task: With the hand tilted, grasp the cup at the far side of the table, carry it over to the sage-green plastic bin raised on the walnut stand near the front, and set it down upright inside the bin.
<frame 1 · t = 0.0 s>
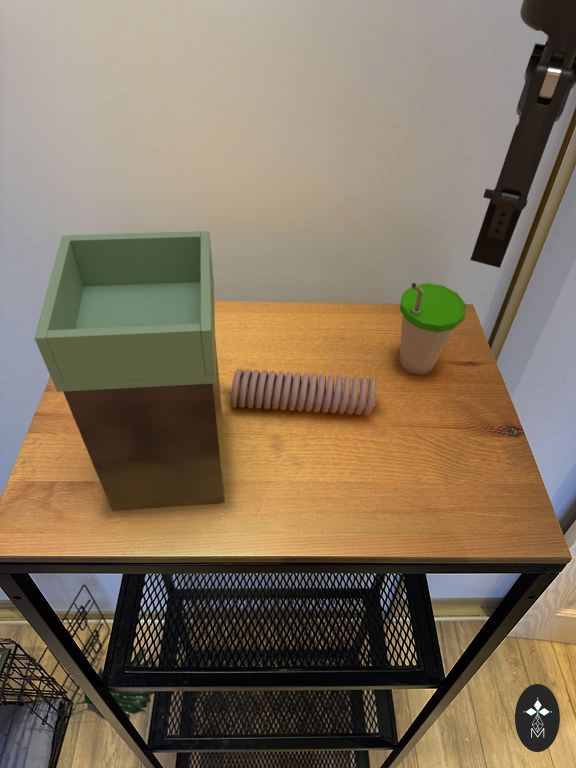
hand: (497, 223, 56), 24 cm above the shelf top, tool pointing down, fingers open, 13 cm apart
stand: (170, 459, 65), on the shelf top
coil: (302, 405, 71), on the shelf top
bin: (142, 333, 50), resting on stand
cup: (415, 363, 77), on the shelf top
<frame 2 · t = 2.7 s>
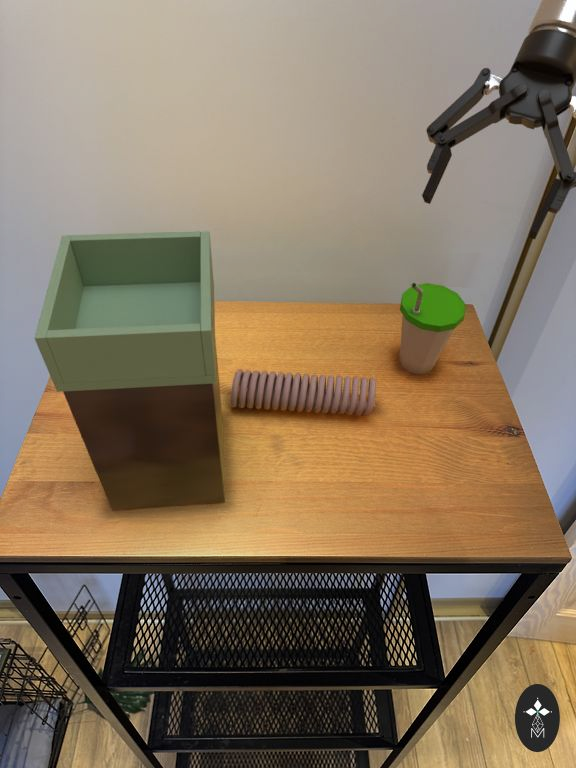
hand: (477, 217, 70), 17 cm above the shelf top, tool tilted 45°, fingers open, 13 cm apart
nothing on the shelf top moved.
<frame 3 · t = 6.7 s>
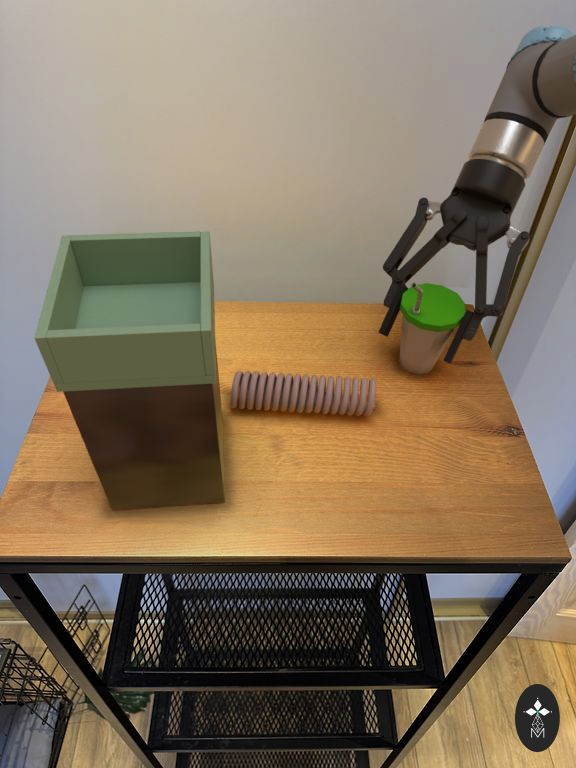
hand: (414, 348, 70), 6 cm above the shelf top, tool tilted 45°, fingers closed on cup, 8 cm apart
cup: (415, 363, 77), on the shelf top, touching gripper
everything else where it was.
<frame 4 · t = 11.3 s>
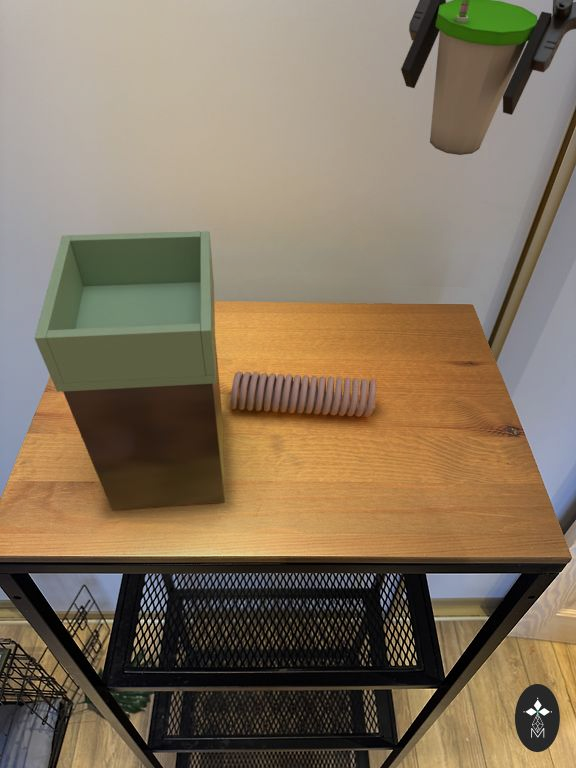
hand: (456, 91, 46), 36 cm above the shelf top, tool tilted 45°, fingers closed on cup, 8 cm apart
cup: (453, 144, 52), point 31 cm above the shelf top, touching gripper
everything else where it was.
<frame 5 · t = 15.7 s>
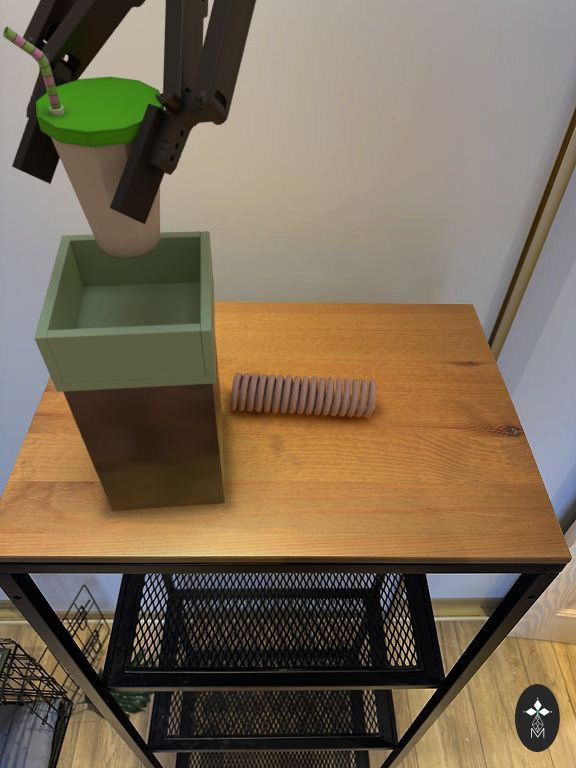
hand: (78, 194, 37), 35 cm above the shelf top, tool tilted 45°, fingers closed on cup, 8 cm apart
cup: (130, 243, 44), point 29 cm above the shelf top, touching gripper
everything else where it was.
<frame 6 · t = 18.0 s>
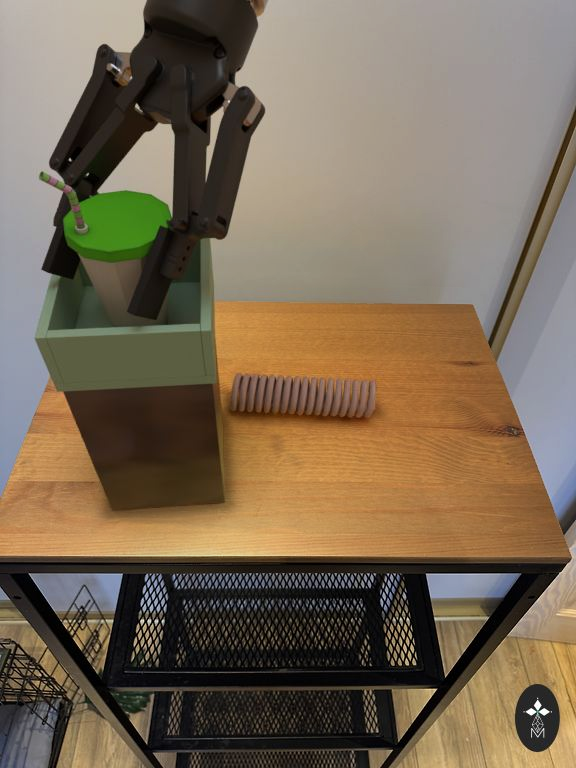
hand: (98, 294, 43), 27 cm above the shelf top, tool tilted 45°, fingers closed on cup, 8 cm apart
cup: (141, 324, 49), point 21 cm above the shelf top, touching gripper
everything else where it was.
when the fingers open (28 cm above the shelf top, at t = 24.8 s): cup drops 1 cm, resting on bin.
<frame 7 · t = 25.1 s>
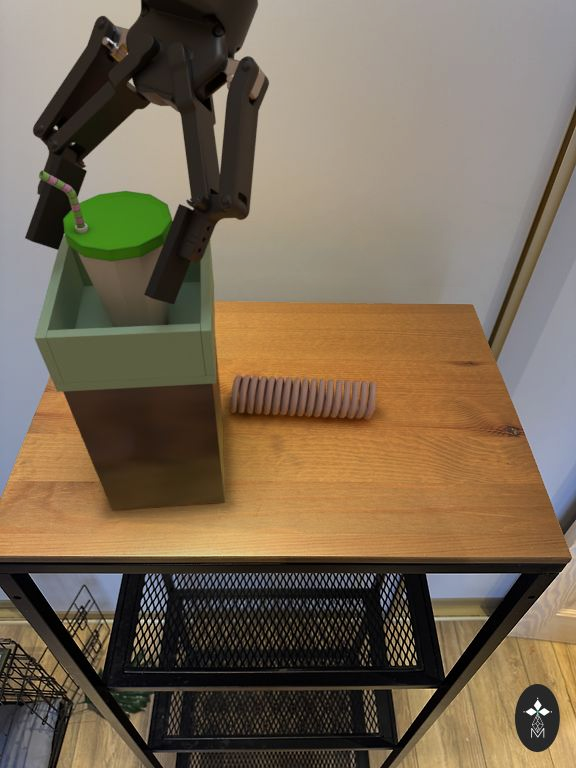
hand: (98, 271, 42), 29 cm above the shelf top, tool tilted 45°, fingers open, 11 cm apart
cup: (141, 325, 50), point 21 cm above the shelf top, touching bin
everything else where it was.
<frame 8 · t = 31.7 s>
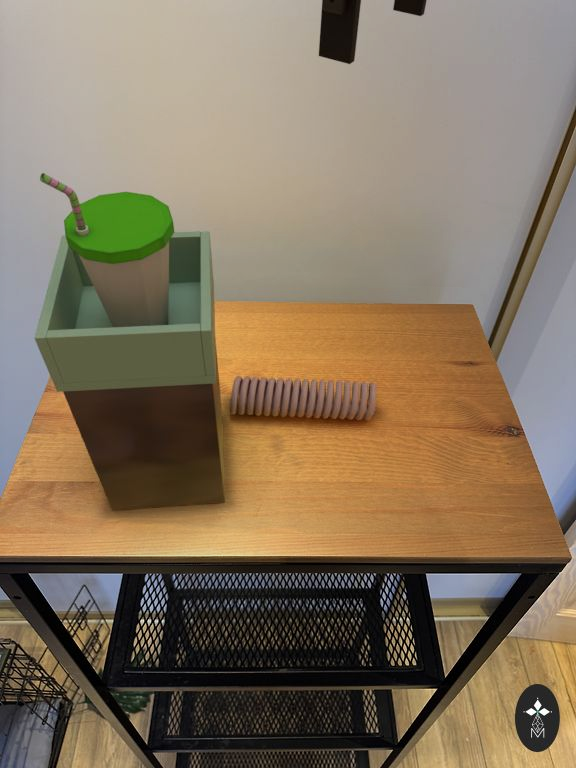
hand: (375, 34, 48), 39 cm above the shelf top, tool pointing down, fingers open, 13 cm apart
nothing on the shelf top moved.
at the end: cup inside the target area on the bin (0.1 cm from its centre), point 0.8 cm above the bin's base; cup tilted 0°; the gripper is holding nothing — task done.
